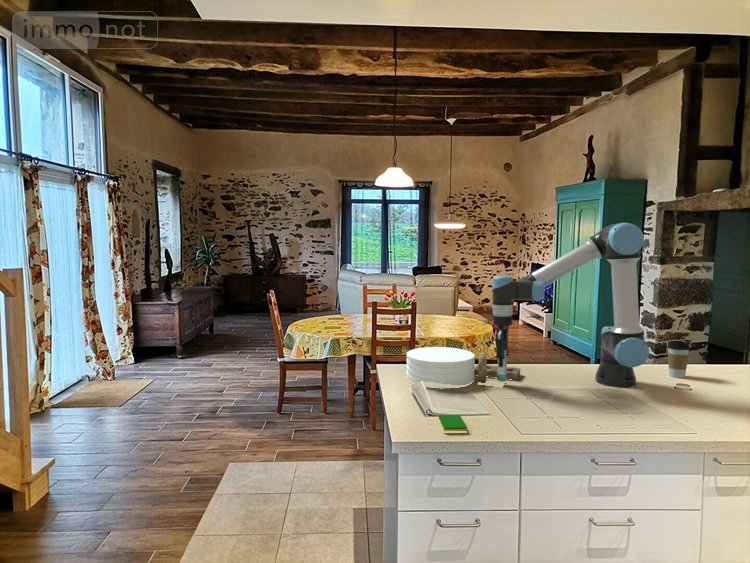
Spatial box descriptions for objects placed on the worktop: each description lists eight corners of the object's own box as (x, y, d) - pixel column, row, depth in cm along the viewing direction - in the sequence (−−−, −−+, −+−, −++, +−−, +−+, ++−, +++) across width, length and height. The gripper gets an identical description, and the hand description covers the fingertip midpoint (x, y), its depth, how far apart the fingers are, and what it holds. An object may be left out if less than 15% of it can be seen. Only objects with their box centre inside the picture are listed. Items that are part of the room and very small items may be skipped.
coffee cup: (668, 378, 217) (670, 343, 215) (663, 373, 225) (665, 339, 223) (691, 379, 214) (692, 344, 213) (685, 374, 222) (687, 340, 221)
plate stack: (397, 375, 223) (397, 349, 222) (457, 370, 230) (457, 345, 229) (420, 393, 196) (420, 364, 195) (486, 387, 203) (487, 359, 202)
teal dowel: (507, 379, 205) (507, 350, 204) (505, 381, 202) (505, 351, 202) (499, 378, 207) (499, 349, 206) (497, 380, 204) (497, 351, 203)
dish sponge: (458, 419, 169) (458, 411, 168) (467, 434, 155) (467, 427, 155) (436, 419, 168) (436, 412, 168) (444, 435, 155) (444, 427, 154)
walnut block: (520, 376, 220) (520, 368, 219) (516, 382, 211) (516, 373, 210) (478, 371, 227) (478, 363, 227) (472, 377, 218) (473, 369, 218)
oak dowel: (487, 382, 209) (487, 353, 208) (485, 384, 206) (485, 354, 205) (479, 381, 210) (479, 352, 209) (477, 383, 207) (477, 354, 206)
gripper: (497, 311, 211) (496, 367, 213) (488, 317, 197) (488, 377, 199) (515, 312, 208) (515, 369, 210) (508, 318, 194) (507, 379, 196)
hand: (502, 373), depth 204 cm, fingers closed on teal dowel, 3 cm apart
